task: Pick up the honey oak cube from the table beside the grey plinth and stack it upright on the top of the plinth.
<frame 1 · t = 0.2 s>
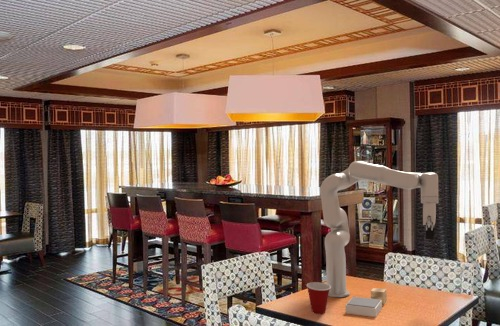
hand: (430, 237, 219), 31 cm above the table, tool pointing down, fingers open, 9 cm apart
oak cube: (378, 302, 224), on the table
plinth: (363, 310, 213), on the table
plastic cup: (319, 312, 212), on the table
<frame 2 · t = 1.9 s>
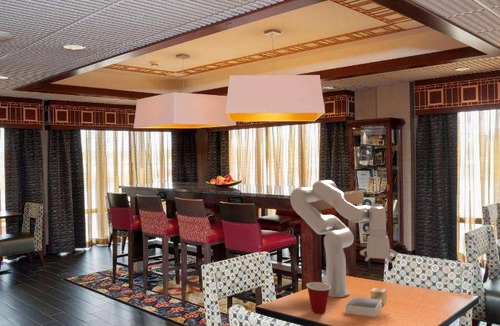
hand: (379, 270, 224), 15 cm above the table, tool pointing down, fingers open, 9 cm apart
nothing on the table moved.
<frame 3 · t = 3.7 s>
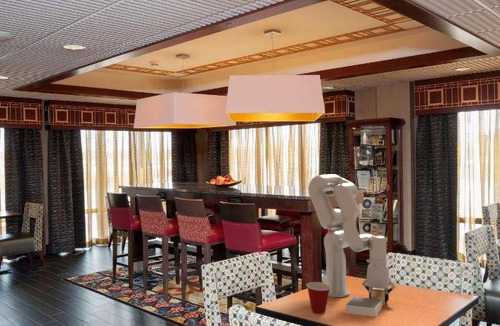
hand: (378, 300, 224), 1 cm above the table, tool pointing down, fingers closed on oak cube, 6 cm apart
oak cube: (378, 302, 224), on the table, touching gripper
everything else where it was.
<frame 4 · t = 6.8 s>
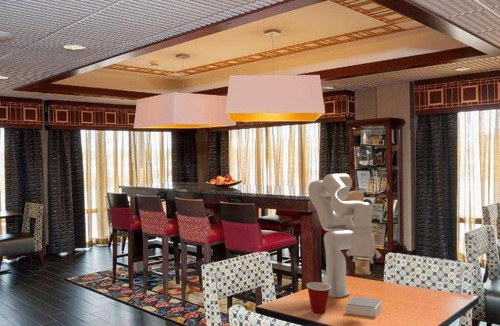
hand: (363, 270, 213), 18 cm above the table, tool pointing down, fingers closed on oak cube, 6 cm apart
oak cube: (363, 272, 213), point 17 cm above the table, touching gripper
everything else where it was.
when the fingers open (6 cm above the table, at t = 9.8 s): oak cube drops 1 cm, resting on plinth.
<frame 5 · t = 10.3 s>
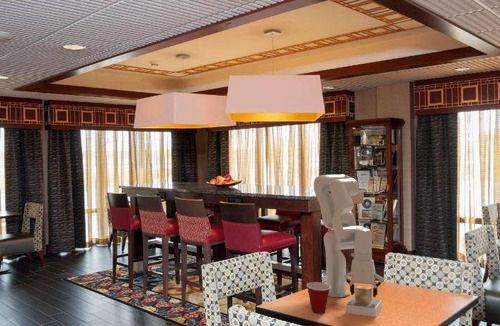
hand: (363, 295, 213), 7 cm above the table, tool pointing down, fingers open, 9 cm apart
oak cube: (363, 301, 213), point 4 cm above the table, touching plinth
everything else where it was.
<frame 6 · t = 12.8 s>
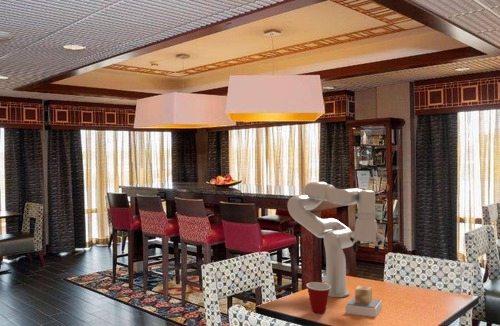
hand: (365, 252, 226), 23 cm above the table, tool pointing down, fingers open, 9 cm apart
nothing on the table moved.
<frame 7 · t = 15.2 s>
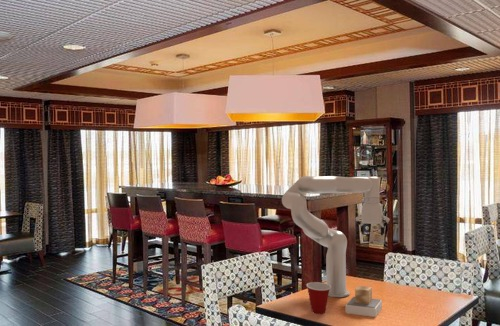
hand: (372, 234, 246), 28 cm above the table, tool pointing down, fingers open, 9 cm apart
nothing on the table moved.
at the end: oak cube 0.1 cm off-centre on the plinth, point 4.0 cm above the plinth's base; oak cube tilted 0°; oak cube touching plinth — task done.
